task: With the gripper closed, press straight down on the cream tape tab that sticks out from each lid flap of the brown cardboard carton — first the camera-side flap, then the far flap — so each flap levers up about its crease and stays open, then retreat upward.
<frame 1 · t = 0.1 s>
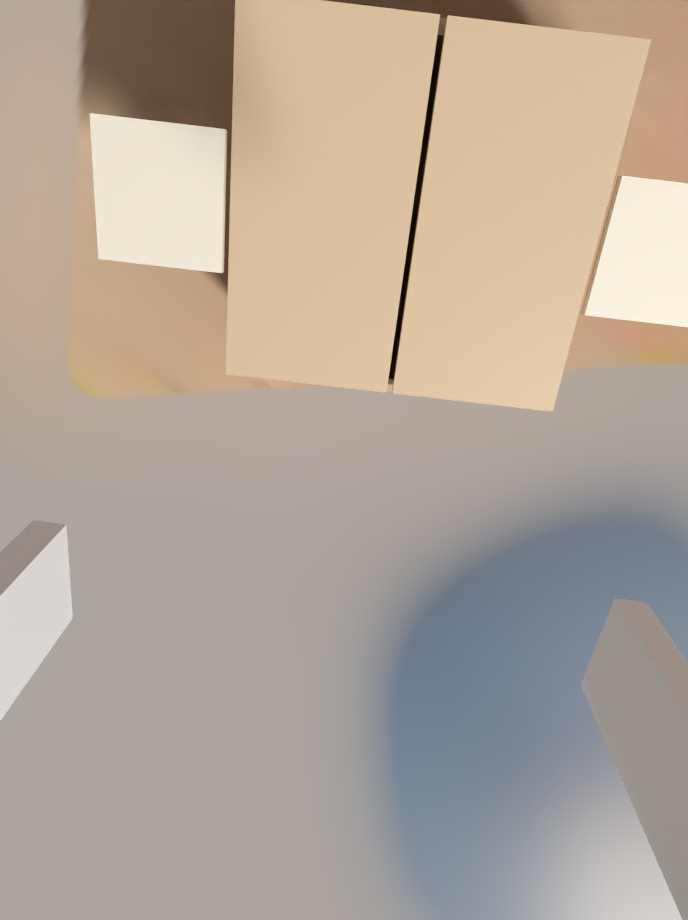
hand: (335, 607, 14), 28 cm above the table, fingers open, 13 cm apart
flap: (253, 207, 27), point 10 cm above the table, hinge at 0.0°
carton: (401, 218, 36), on the table
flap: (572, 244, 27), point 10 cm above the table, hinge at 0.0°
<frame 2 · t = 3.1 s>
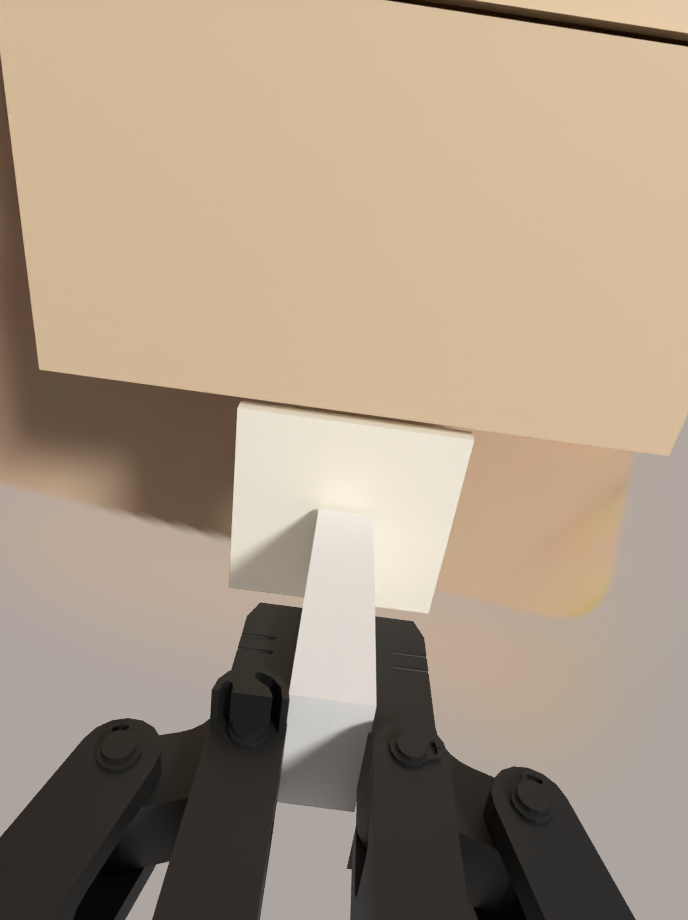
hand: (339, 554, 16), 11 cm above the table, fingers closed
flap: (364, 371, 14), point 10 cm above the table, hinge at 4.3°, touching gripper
carton: (395, 90, 21), on the table
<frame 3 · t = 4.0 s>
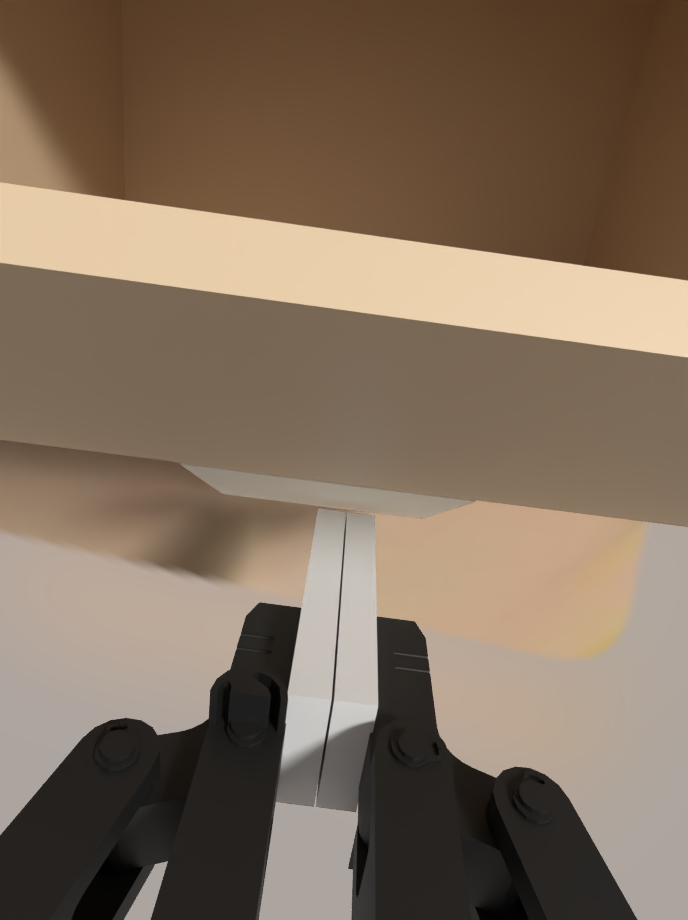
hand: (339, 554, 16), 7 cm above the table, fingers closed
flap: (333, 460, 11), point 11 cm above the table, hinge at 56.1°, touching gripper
carton: (380, 56, 17), on the table
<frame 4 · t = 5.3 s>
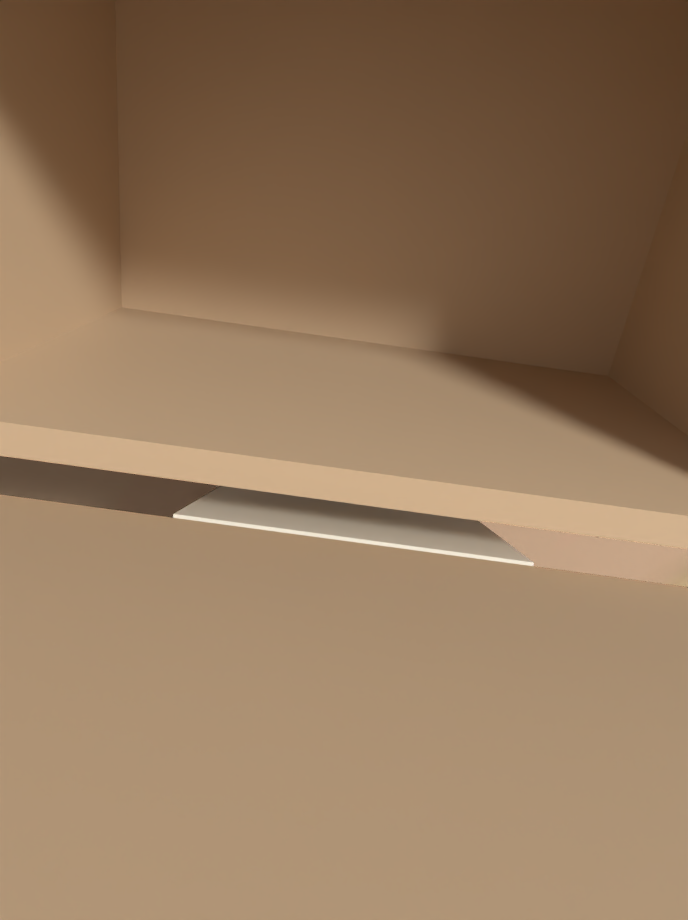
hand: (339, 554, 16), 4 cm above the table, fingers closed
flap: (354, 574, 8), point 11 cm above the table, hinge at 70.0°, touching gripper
carton: (408, 55, 15), on the table
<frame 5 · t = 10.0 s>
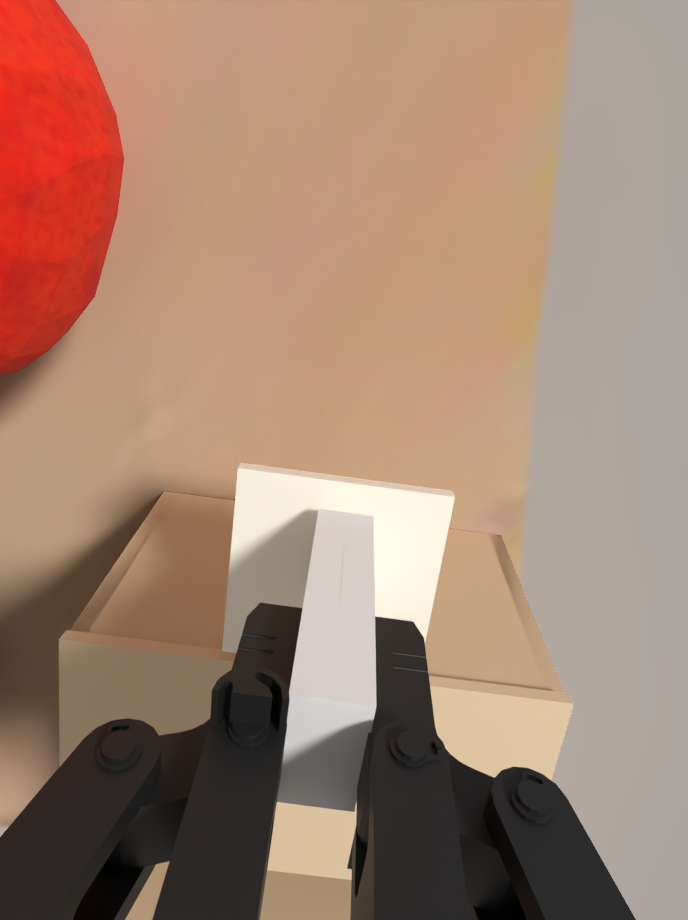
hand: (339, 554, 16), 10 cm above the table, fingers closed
carton: (314, 645, 31), on the table
apple: (37, 168, 22), on the table
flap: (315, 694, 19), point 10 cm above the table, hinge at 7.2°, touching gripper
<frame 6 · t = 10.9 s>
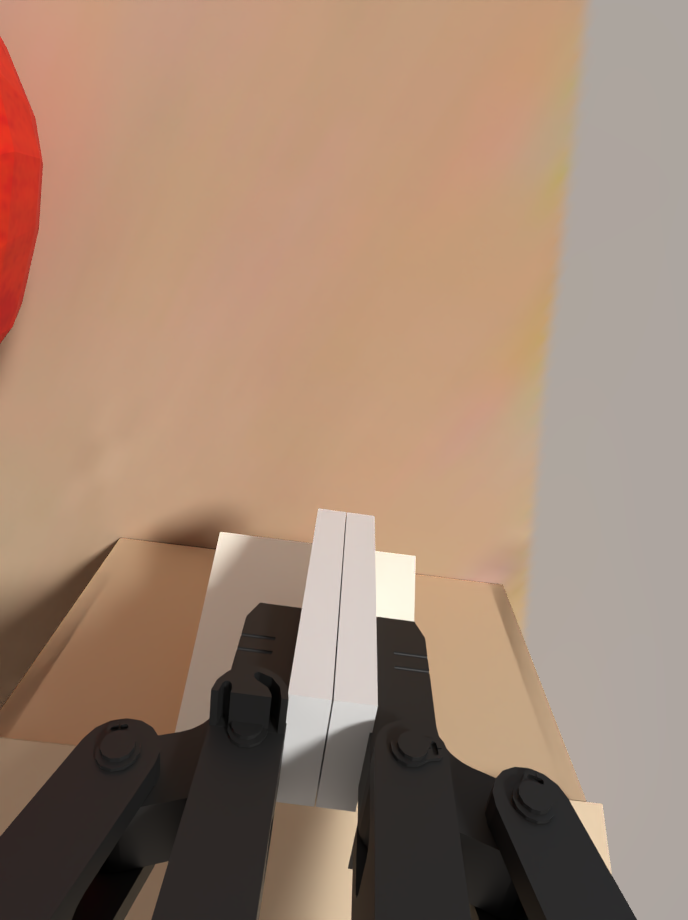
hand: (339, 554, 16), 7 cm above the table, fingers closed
carton: (294, 704, 28), on the table
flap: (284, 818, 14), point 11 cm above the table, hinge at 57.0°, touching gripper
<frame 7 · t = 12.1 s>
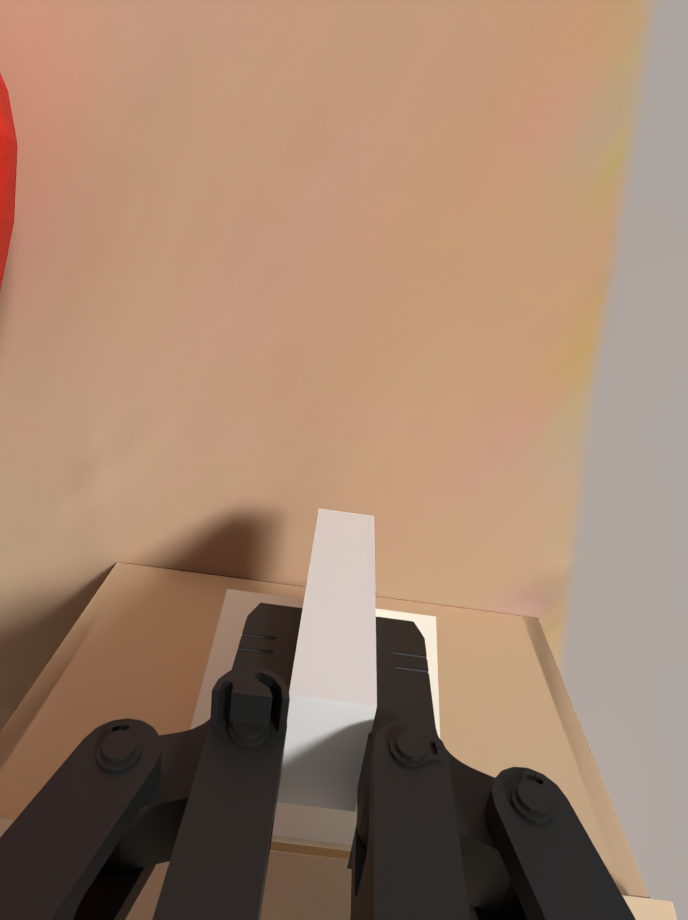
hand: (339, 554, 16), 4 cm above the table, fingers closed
carton: (306, 741, 26), on the table
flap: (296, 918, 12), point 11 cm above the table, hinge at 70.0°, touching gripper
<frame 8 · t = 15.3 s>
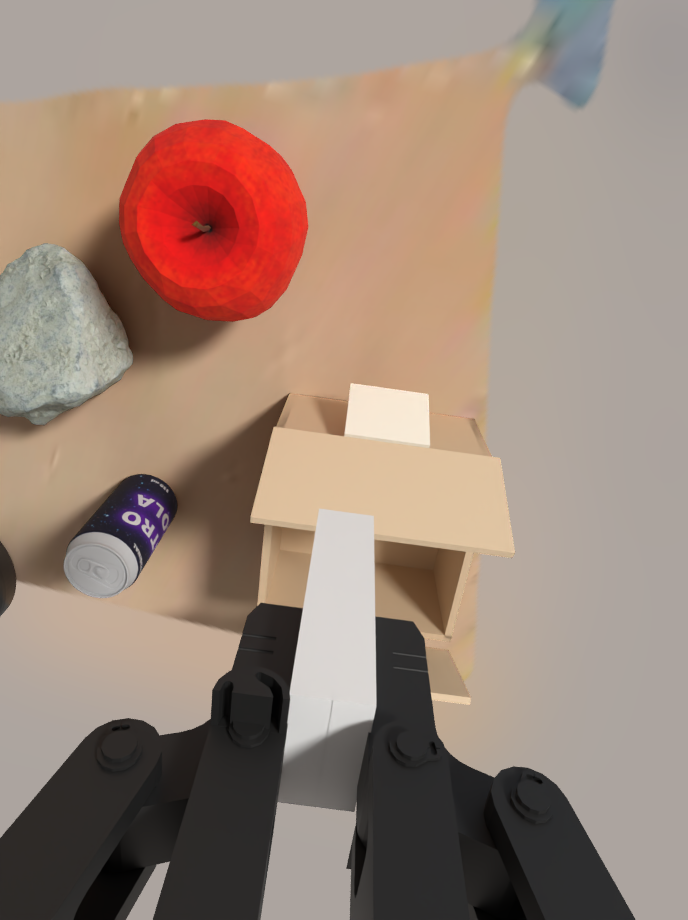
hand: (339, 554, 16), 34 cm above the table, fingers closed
beverage can: (150, 496, 55), on the table
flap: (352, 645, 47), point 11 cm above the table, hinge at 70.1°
carton: (368, 488, 54), on the table
decorative stone: (79, 328, 49), on the table
apple: (241, 222, 45), on the table
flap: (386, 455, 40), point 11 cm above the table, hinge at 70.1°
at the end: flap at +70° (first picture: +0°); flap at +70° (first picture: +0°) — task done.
